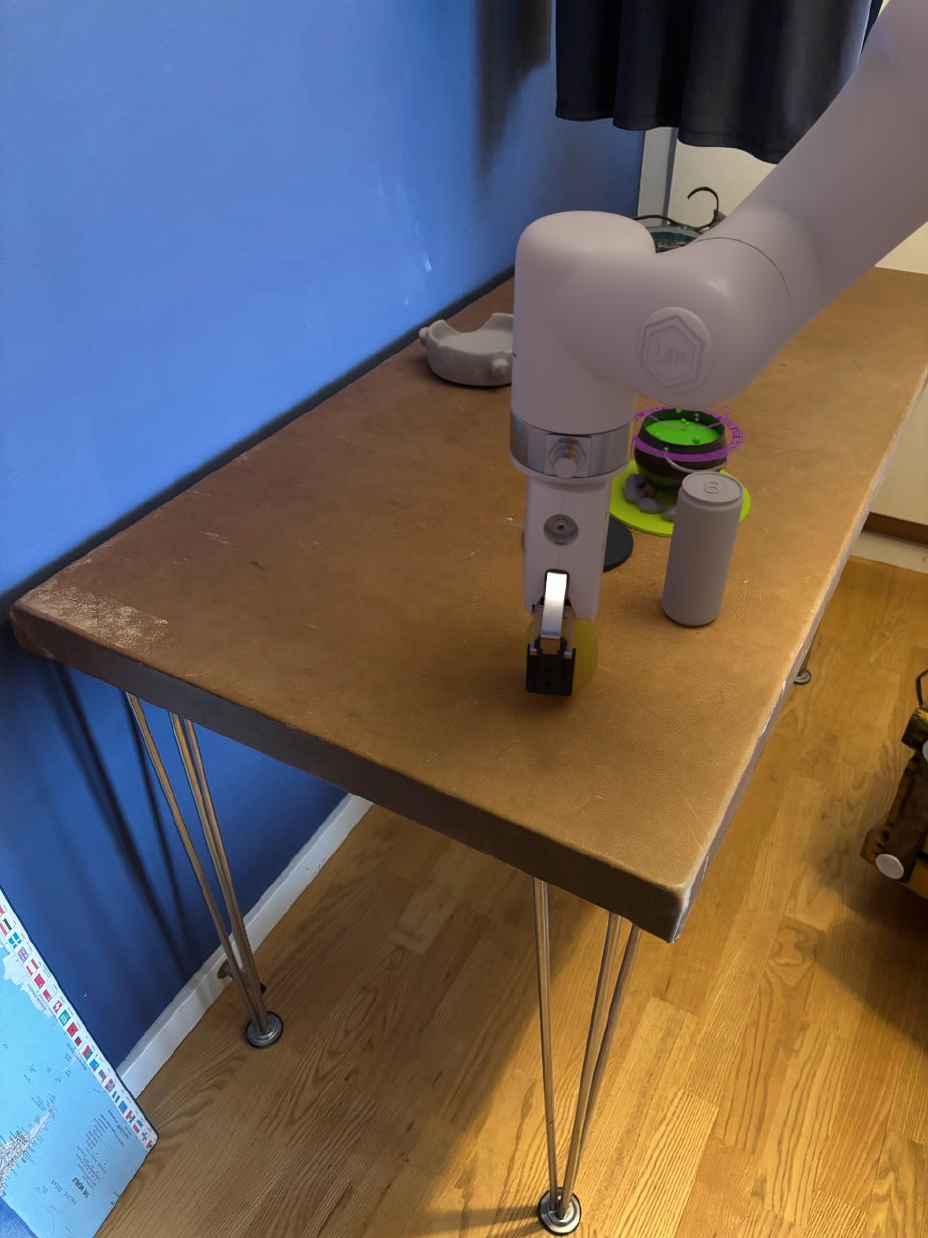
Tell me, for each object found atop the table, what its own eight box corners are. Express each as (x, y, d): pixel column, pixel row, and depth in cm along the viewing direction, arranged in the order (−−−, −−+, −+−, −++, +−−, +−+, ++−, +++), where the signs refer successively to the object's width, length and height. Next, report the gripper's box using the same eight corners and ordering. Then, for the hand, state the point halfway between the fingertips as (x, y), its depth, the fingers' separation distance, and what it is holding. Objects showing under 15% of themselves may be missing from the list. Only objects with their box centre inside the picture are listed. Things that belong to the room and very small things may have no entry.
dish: (407, 364, 116) (405, 326, 113) (491, 338, 123) (492, 301, 120) (476, 403, 107) (476, 363, 104) (564, 373, 114) (566, 334, 111)
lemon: (508, 703, 68) (510, 620, 63) (538, 660, 71) (543, 577, 66) (577, 728, 66) (585, 643, 61) (604, 681, 69) (614, 598, 64)
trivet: (607, 506, 89) (608, 501, 89) (651, 563, 82) (651, 558, 81) (510, 522, 87) (510, 517, 87) (545, 582, 79) (545, 576, 79)
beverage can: (656, 623, 75) (676, 497, 67) (664, 589, 78) (683, 466, 71) (716, 633, 74) (743, 506, 66) (721, 599, 77) (747, 475, 70)
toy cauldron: (721, 555, 82) (743, 445, 76) (571, 510, 89) (579, 405, 82) (770, 482, 92) (793, 379, 85) (632, 446, 99) (644, 348, 92)
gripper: (630, 514, 48) (600, 738, 59) (635, 378, 62) (610, 581, 73) (490, 503, 49) (486, 725, 60) (525, 371, 63) (517, 572, 73)
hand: (554, 646), depth 66 cm, fingers open, 9 cm apart
